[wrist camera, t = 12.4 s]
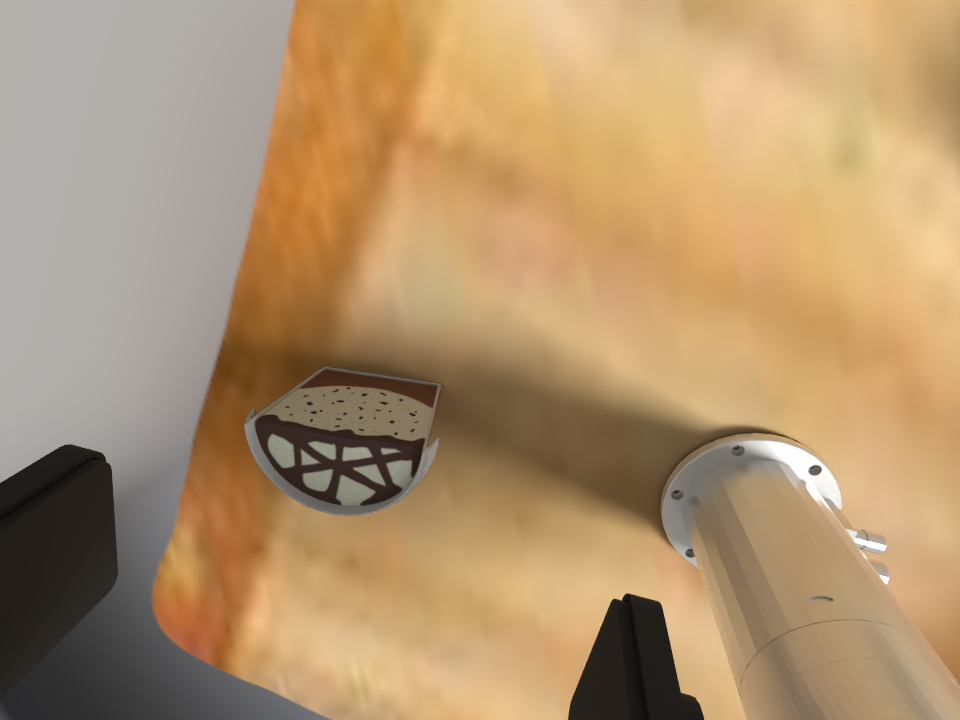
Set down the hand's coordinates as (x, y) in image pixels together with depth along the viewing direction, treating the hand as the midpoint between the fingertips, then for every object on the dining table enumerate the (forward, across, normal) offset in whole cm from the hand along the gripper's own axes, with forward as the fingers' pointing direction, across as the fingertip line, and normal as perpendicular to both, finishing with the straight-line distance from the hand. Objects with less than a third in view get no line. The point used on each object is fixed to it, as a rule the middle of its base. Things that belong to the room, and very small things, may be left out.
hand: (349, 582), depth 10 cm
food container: (+31, +7, +14) cm, 34 cm away
